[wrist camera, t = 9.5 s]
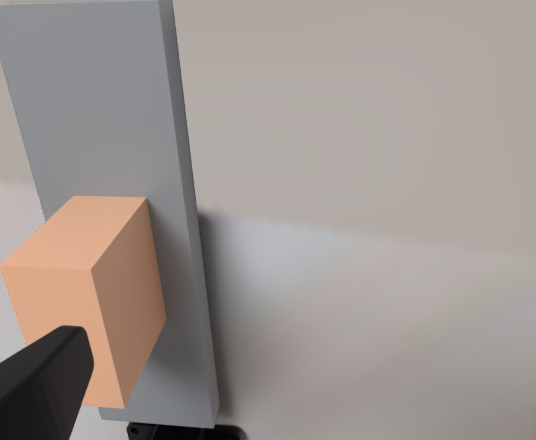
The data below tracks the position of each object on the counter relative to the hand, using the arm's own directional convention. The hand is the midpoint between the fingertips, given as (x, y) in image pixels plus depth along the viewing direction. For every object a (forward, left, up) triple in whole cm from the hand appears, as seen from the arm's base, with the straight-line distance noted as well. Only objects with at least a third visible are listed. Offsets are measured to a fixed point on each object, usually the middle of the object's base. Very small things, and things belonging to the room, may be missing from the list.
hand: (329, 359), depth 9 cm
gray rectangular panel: (-5, +9, -12) cm, 16 cm away
